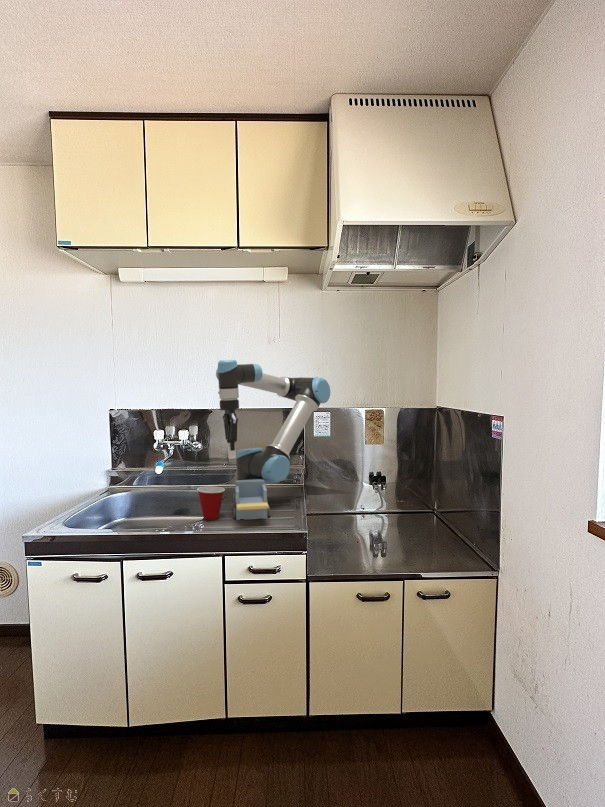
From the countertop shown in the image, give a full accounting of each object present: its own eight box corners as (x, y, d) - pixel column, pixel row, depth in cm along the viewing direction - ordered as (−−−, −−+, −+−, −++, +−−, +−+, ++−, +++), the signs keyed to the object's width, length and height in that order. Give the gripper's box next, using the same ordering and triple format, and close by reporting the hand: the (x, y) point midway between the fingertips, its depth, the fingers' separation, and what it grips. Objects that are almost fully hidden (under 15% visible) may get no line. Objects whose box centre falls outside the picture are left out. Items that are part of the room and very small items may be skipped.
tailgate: (236, 503, 181) (237, 507, 172) (266, 502, 183) (268, 505, 174) (236, 508, 181) (237, 511, 172) (266, 506, 183) (268, 509, 174)
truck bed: (232, 509, 196) (232, 480, 195) (267, 507, 198) (266, 478, 197) (233, 520, 182) (232, 488, 181) (270, 517, 184) (269, 486, 184)
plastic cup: (230, 519, 183) (229, 488, 182) (203, 524, 178) (202, 492, 177) (219, 512, 192) (218, 483, 192) (193, 517, 187) (193, 487, 186)
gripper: (215, 398, 189) (218, 456, 192) (224, 401, 178) (227, 462, 180) (233, 397, 193) (236, 454, 195) (243, 399, 181) (246, 459, 183)
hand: (232, 458), depth 187 cm, fingers closed
